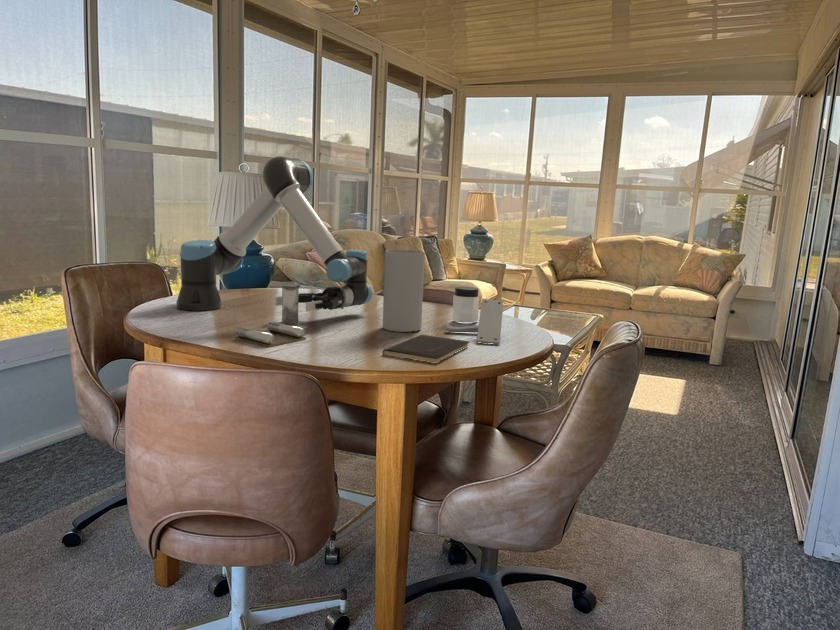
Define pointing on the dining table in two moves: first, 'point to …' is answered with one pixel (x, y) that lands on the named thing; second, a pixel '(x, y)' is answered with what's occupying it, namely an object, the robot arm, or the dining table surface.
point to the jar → (465, 304)
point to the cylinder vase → (403, 290)
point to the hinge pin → (290, 303)
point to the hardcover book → (426, 348)
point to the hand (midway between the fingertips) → (290, 304)
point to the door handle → (485, 322)
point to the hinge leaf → (271, 335)
